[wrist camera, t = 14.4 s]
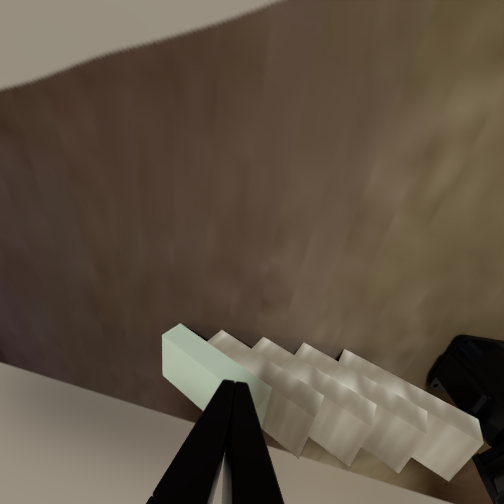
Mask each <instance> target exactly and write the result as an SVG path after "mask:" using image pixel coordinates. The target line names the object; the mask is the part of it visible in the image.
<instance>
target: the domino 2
mask: <svg viewBox="0 0 504 504" xmlns="http://www.w3.org/2000/svg"><path fill="white" fill-rule="evenodd" d="M207 342H208V343H209V344H211V345H212V346H213V347H215V348H216V349H218V350H219V351H221V352H222V353H223V354H225V355H226V356H228V357H229V358H231V359H232V360H233V361H235V362H236V363H238V364H239V365H241V366H242V367H243V368H245V369H246V370H248V371H249V372H251V373H252V374H253V375H255V376H256V377H258V378H259V379H261V380H262V381H263V382H265V383H266V384H268V385H269V386H271V387H272V391H271V395H270V399H269V403H268V407H267V411H266V414H265V418H264V422H263V426H262V429H263V430H264V431H265V432H266V433H267V434H269V435H270V436H271V437H272V438H274V439H275V440H276V441H277V442H279V443H280V444H281V445H282V446H283V447H285V448H286V449H287V450H288V451H290V452H291V453H292V454H293V455H295V456H296V457H297V458H299V456H300V454H301V452H302V450H303V447H304V445H305V443H306V440H307V438H308V436H309V433H310V431H311V428H312V426H313V423H314V421H315V418H316V416H317V413H318V411H319V408H320V406H321V403H322V401H323V398H324V395H322V394H321V393H319V392H318V391H316V390H314V389H313V388H311V387H310V386H308V385H307V384H305V383H304V382H302V381H300V380H299V379H297V378H296V377H294V376H293V375H291V374H290V373H288V372H286V371H285V370H283V369H282V368H280V367H279V366H277V365H276V364H274V363H273V362H271V361H269V360H268V359H266V358H265V357H263V356H262V355H260V354H259V353H257V352H255V351H254V350H252V349H251V348H249V347H248V346H246V345H245V344H243V343H241V342H240V341H238V340H237V339H235V338H234V337H232V336H231V335H229V334H227V333H226V332H224V331H223V330H221V331H220V332H218V333H217V334H216V335H215V336H213V337H212V338H211V339H210V340H208V341H207Z"/></svg>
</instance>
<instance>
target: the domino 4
mask: <svg viewBox="0 0 504 504" xmlns="http://www.w3.org/2000/svg"><path fill="white" fill-rule="evenodd" d="M295 356H296V357H298V358H300V359H301V360H303V361H305V362H306V363H308V364H310V365H311V366H313V367H315V368H316V369H318V370H320V371H321V372H323V373H325V374H326V375H328V376H330V377H331V378H333V379H335V380H336V381H338V382H340V383H341V384H343V385H345V386H346V387H348V388H350V389H351V390H353V391H355V392H356V393H358V394H360V395H361V396H363V397H365V398H366V399H368V400H370V401H371V402H373V403H375V404H376V405H377V406H376V410H375V415H374V420H373V425H372V428H371V430H370V432H369V433H368V435H367V437H366V439H365V441H364V442H363V444H362V446H361V448H363V449H364V450H366V451H367V452H368V453H370V454H371V455H373V456H374V457H376V458H377V459H379V460H380V461H381V462H383V463H384V464H386V465H387V466H389V467H390V468H391V469H393V470H394V471H396V472H397V473H400V472H401V470H402V469H403V467H404V466H405V465H406V463H407V462H408V461H409V459H410V458H411V456H412V455H413V454H414V452H415V451H416V450H417V448H418V447H419V445H420V444H421V443H422V441H423V440H424V439H425V437H426V436H427V411H426V410H424V409H422V408H420V407H419V406H417V405H415V404H413V403H411V402H410V401H408V400H406V399H404V398H402V397H401V396H399V395H397V394H395V393H393V392H392V391H390V390H388V389H386V388H384V387H383V386H381V385H379V384H377V383H376V382H374V381H372V380H370V379H368V378H367V377H365V376H363V375H361V374H359V373H358V372H356V371H354V370H352V369H350V368H349V367H347V366H345V365H343V364H342V363H340V362H338V361H336V360H334V359H333V358H331V357H329V356H327V355H325V354H324V353H322V352H320V351H318V350H316V349H315V348H313V347H311V346H309V345H308V344H306V343H304V342H303V344H302V345H301V347H300V348H299V350H298V351H297V352H296V354H295Z"/></svg>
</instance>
